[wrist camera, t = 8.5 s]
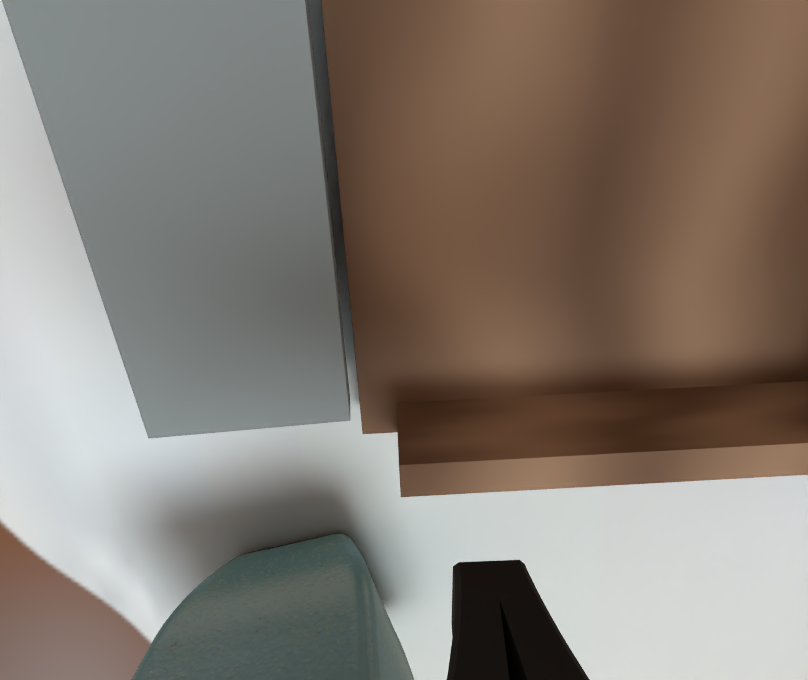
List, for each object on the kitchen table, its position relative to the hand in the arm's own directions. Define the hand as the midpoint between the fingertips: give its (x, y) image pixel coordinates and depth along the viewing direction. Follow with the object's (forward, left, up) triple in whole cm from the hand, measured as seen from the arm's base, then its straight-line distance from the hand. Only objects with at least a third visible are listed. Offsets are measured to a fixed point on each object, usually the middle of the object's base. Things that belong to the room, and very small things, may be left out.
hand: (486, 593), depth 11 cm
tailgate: (+3, -8, -8) cm, 12 cm away
